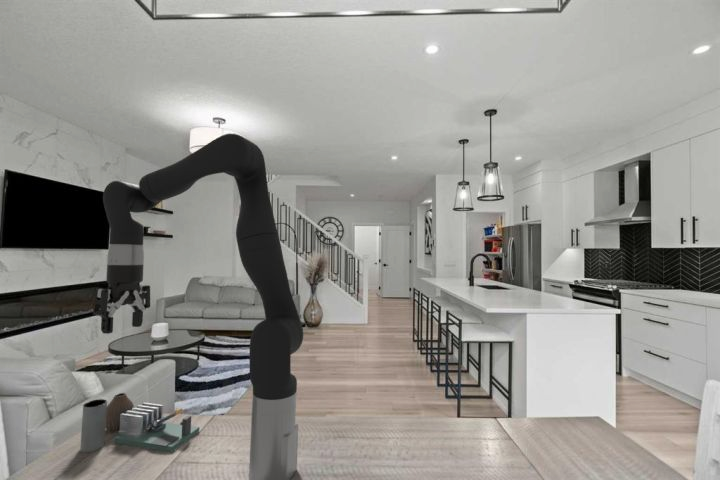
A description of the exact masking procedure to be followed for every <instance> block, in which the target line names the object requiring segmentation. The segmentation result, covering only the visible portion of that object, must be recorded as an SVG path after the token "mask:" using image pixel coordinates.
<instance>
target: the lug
mask: <svg viewBox="0 0 720 480" xmlns="http://www.w3.org/2000/svg"><path fill="white" fill-rule="evenodd" d="M179 424H180V425H182V436H186V435H187V434H189V433H190V432H191V426H192V415H187V416H185V417H183V418H182V421H181V422H180V423H179Z"/></svg>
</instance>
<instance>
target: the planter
mask: <svg viewBox="0 0 720 480" xmlns="http://www.w3.org/2000/svg"><path fill="white" fill-rule="evenodd" d="M107 403H108V401H107V399H102V398H100V399H93V400H89V401H86V402H85V403H84V404H83V406H82V417H81V418H82V419H81V433H80V436H81V437H80V452H81V453H91V452H92V453H93V452H95V451H98V450H100V449H102V448H103V447H104V446H105V437H106V428H105V425H106V410H107V406H108V404H107Z"/></svg>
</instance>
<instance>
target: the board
mask: <svg viewBox="0 0 720 480" xmlns="http://www.w3.org/2000/svg"><path fill="white" fill-rule="evenodd" d="M164 423H166V427H165V428H163V429H161V430H160V431H158V432H157V433H150V432H149V433H148V434H146V435H145V436H143V437H141V438H140V439H137V438H130V437H124V436H118V435H117V436H115V437H114V439H113V443H116V444H120V445H127V446H131V447H132V446H133V447H137V448H143V449H144V448H146V449H150V450H151V449H152V450H156V451H157V450H158V451H163V452H170V453H173V452H174V451H175V450H176V449H177V448H179V447H180V446H182V445H184V443H186V442H188V441H189V440H190V439H191V438H193V437H194V436H196V435H197V434H199V432H200V428H201V427H200V426H197V425H191V432H190V433H189V434H187V435H186V436H182V425H180V423H174V422H167V421H165V422H164Z"/></svg>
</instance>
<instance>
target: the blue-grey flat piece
mask: <svg viewBox="0 0 720 480" xmlns="http://www.w3.org/2000/svg"><path fill="white" fill-rule="evenodd" d="M180 413H183V408H180V409H178V410H177V411H174V412H173V413H171V414H169V415H167V416H165V417H164V416H163V417H162V418H161V419H159V420H157V421H156V422H154V423H152V427H153V428H155V427H157V426H158V425H160V424H162V423H163V422H167V421H168V420H170V419H171V418H174V417H176V416H177V415H179V414H180Z"/></svg>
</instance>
